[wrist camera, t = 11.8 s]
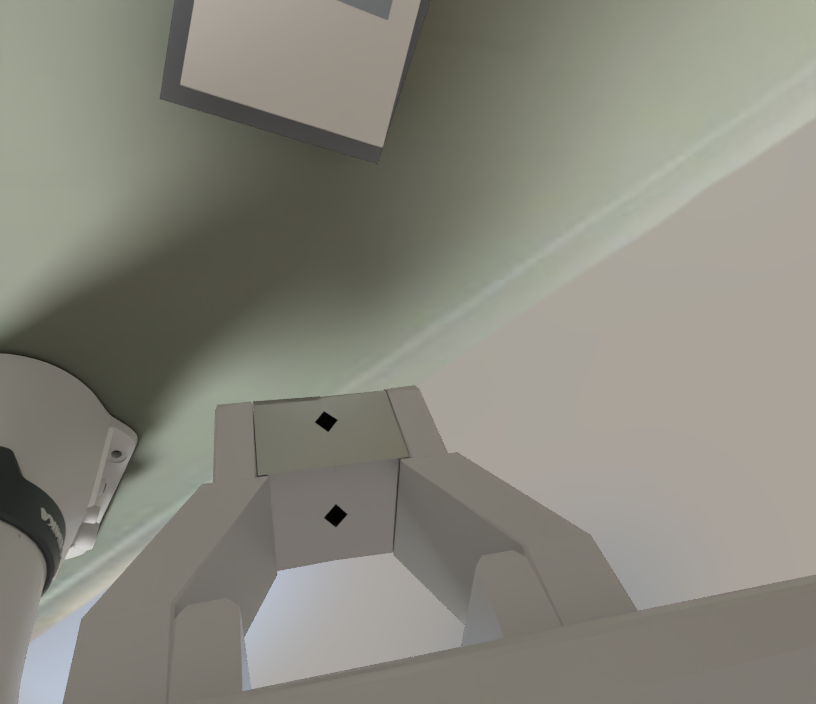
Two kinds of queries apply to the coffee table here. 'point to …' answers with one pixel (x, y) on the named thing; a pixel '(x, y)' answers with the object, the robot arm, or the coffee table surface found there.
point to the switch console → (254, 116)
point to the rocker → (304, 59)
